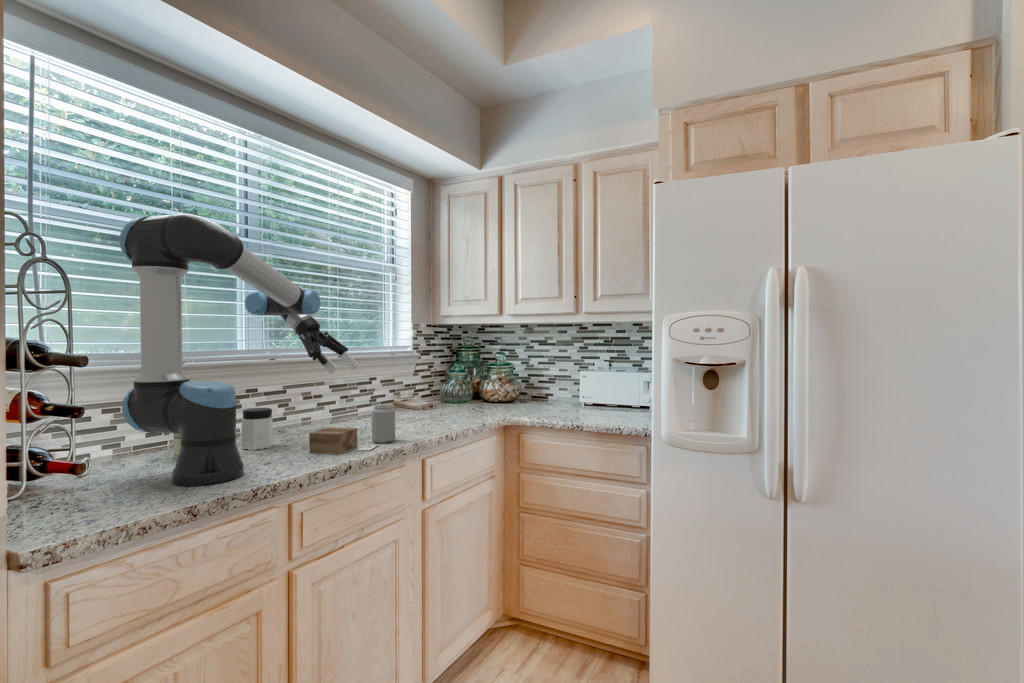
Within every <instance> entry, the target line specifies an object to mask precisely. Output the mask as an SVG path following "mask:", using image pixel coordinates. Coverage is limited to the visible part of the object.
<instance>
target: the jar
mask: <svg viewBox="0 0 1024 683" xmlns="http://www.w3.org/2000/svg"><path fill="white" fill-rule="evenodd" d="M272 413H273V409H272V408H271V407H253V408H245V409H243V410H242V419H241V450H243V449H248V450H247V451H258V450H257V449H260V450H265V449H264V448H267V449H270V448H271V447H272V446H273V445H274V444H273V437H274V436H273V416H272V415H273V414H272Z"/></svg>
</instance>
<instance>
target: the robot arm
mask: <svg viewBox="0 0 1024 683" xmlns="http://www.w3.org/2000/svg"><path fill="white" fill-rule="evenodd" d="M118 240H119V247H120V250H121V253H123V254H124V257H125V258H126V259H127V260H129V261H130V262H131V269H132V270H133V272H135V273H136V274H137V275H138V276H139V312H140V313H139V316H140V317H139V319H140V326H139V327H140V328H139V329H140V374H139V375H138V376H137V377H136V378H134V379H133V388H131V389H130V390H128V392H127V393H126V394H127V395H125V396H124V397H123V400H122V404H121V411H122V416H123V418H124V420H125V422H126V423H127V424H128V425H129V426H130V427H132V428H133V429H134V430H136V431H139V432H144V433H145V432H146V433H149V434H174V433H176V434H181V449H180V453H179V456H178V459H176V462H175V466H174V467H175V468H174V469H172V471H171V472H172V474H171V483H172V484H173V485H176V486H177V485H178V486H187V487H189V486H205V484H207V485H213V483H215V484H219V483H218V482H220V483H224V482H223V481H225V482H228V481H227V480H229V481H232V480H231V479H233V480H235V478H236V479H238V478H240V477H242V476H243V475H244V474H245V465H244V462H243V461H242V458H241V454H240V452H239V448H238V445H237V432H236V431H237V399H236V390H235V388H234V386H233V385H231V384H229V383H226V382H222V381H220V382H219V381H212V380H210V381H208V380H207V381H206V380H191V379H190V377H189V376H188V375H187V374H186V373H185V372H184V371H183V320H182V319H183V317H182V316H183V315H182V314H183V313H182V311H183V310H182V307H183V306H182V304H183V302H182V279H183V277H184V276H186V275H187V274H188V273H189V263H193V262H194V263H195V262H196V263H202V264H207V265H210V266H212V267H214V268H216V269H217V270H221V271H223V270H225V271H227V272H229V273H230V274H233V275H234V276H235V277H237V278H238V279H239V280H242V281H243V282H245V283H246V284H248V285H249V286H251V287H253V288H254V289H255V290H253V291H251V292H249V293H247V295H246V297H245V299H244V306H245V309H246V310H247V312H248V313H249V314H250V315H253V316H254V315H255V316H280V318H282V319H283V320H284V321H285V323H287V324H288V326H289V328H291V329H292V330H293V332H294V331H295V333H296V334H297V336H298V338H299V340H300V341H301V342H302V343H303V346H304V348H305V351H306V353H307V355H308V357H309V358H312V361H316V360H317V361H318V362H319V363H320V364H321V365H322V366H323V367H324V368H325V370H326V371H327V372H328V373H329V374H330V375H332V374H333V373H334V372H335V371H336V370H337V368H338V367H337V366H336V365H335V364H334V363H333V361H332V360H331V359H330V358H329V357H328V356H327V355H326V354H325V353H324V352H322V349H321V346H322V347H323V348H327V349H329V350H330V351H332V352H334V353H335V354H337V355H339V357H340V359H341V360H342V361H343V362H344V363H345V364H346V365H347V366H348V367H349V368H350V369H351V371H354V370H356V368H357V367H358V366H359V364H358V362H357V361H356V360H355V359H354V358H353V357H352V356H351V355H350V354H349V353H348V351H349V348H348V347H347V346H345V345H344V344H342V343H341V342H340V341H339V340H338V339H336V338H334V337H333V336H332V335H330V333H329V332H327V331H325V332H324V333H323V332H321V330H320V329H321V324H320V323H319V322H318V321H317V320H316V319H315V318H314V317H313V315H314V314H316V313H318V311H319V310H320V307H321V297H320V294H319V293H318V292H317V291H315V290H313V289H312V290H310V289H306V290H304V289H302V288H301V287H299V286H298V285H297V284H296V283H294V282H293V281H291V280H290V279H288V277H286V276H284V275H283V273H280V272H279V271H278V270H276V269H275V268H274V267H272V266H271V265H269V264H268V263H267V262H266V261H264V260H263V259H261V258H260V257H259V256H257V255H256V254H254V253H253V252H252V251H251V250H249V249H248V248H246V247H245V245H244V242H243V240H242V239H240V238H239V237H238V236H236V235H235V234H234V233H233V232H231V231H230V230H228V229H227V228H225V227H223V226H222V225H220V224H218V223H216V222H214V221H212V220H209V219H207V218H205V217H203V216H199V215H195V214H191V213H178V214H165V215H164V214H162V215H146V216H145V215H144V216H142V217H137V218H134V219H131V220H130V221H128V222H127V223H126V224H125V225H124V226H123V228H122V229H121V231H120V235H119V239H118Z"/></svg>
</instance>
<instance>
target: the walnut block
mask: <svg viewBox="0 0 1024 683" xmlns="http://www.w3.org/2000/svg"><path fill="white" fill-rule="evenodd" d="M308 434H309V436H308V438H309V443H308V444H309V446H308V447H309V448H308V449H309V454H317V453H334V454H333V455H338V454H340V453H343V452H345V451H347V452H349V451H348V450H350V449H352V450H354V449H353V448H355V449H357V448H358V428H356V427H332V426H331V427H330V426H329V427H324V428H322V429H317V430H315V431H312V432H309V433H308ZM356 447H357V448H356ZM350 451H351V450H350ZM345 453H346V452H345ZM343 454H344V453H343ZM340 455H341V454H340Z"/></svg>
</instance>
